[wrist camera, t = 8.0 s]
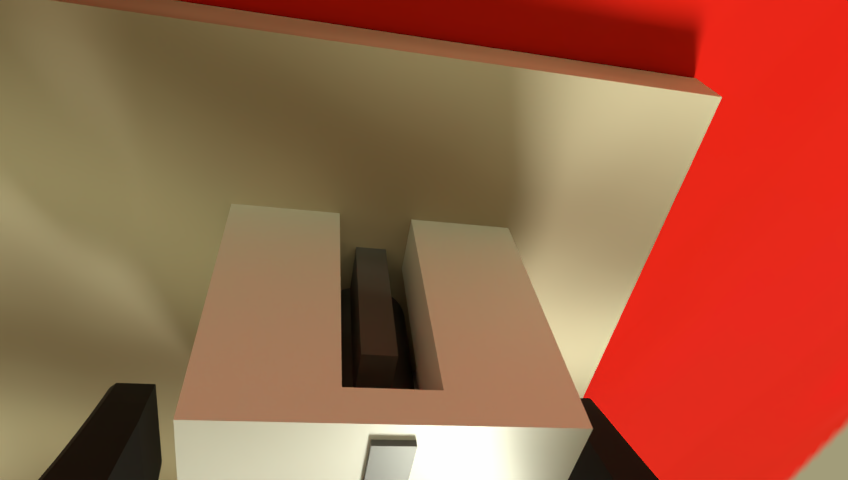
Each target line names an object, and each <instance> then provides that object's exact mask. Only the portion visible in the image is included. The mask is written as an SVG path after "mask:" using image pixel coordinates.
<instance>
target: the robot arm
mask: <svg viewBox="0 0 848 480" xmlns="http://www.w3.org/2000/svg"><path fill="white" fill-rule="evenodd" d="M580 399H581V402H582V404H583V406H584V409H585V411H586V413H587V416H588V418H589V420H590V423H591V425H592V428H593V430H592V432H591V434H590V436H589V438H588V440H587V442H586V444H585V446H584V448H583V450H582V452H581V454H580V456H579V458H578V460H577V462H576V464H575V466H574V468H573V470H572V472H571V474H570V476H569V478H568V480H659V479H658V478H657V477H656V476H655V475H654V474H653V472H652V471H651V470H650V469H649V468H648V467H647V465H646V464H645V463H644V462H643V461H642V460H641V458H640V457H639V456H638V455H637V454H636V452H635V451H634V450H633V449H632V448H631V447H630V445H629V444H628V443H627V442H626V441H625V439H624V438H623V437H622V436H621V435H620V433H619V432H618V431H617V430H616V429H615V427H614V426H613V425H612V424H611V423H610V421H609V420H608V419H607V418H606V417H605V415H604V414H603V413H602V412H601V411H600V410H599V408H598V407H597V406H596V405H595V404H594V403H593V401H592V400H591V399H589V398H580ZM161 465H162V456H161V443H160V431H159V419H158V407H157V395H156V384H139V383H115V384H114V385H112V386H111V387H110V388H109V389H108V390H107V392H106V393H105V395H104V396H103V398H102V399H101V400H100V402H99V403H98V405H97V406H96V407H95V409H94V410H93V411H92V413H91V414H90V415H89V417H88V418H87V419H86V421H85V422H84V423H83V425H82V426H81V427H80V429H79V430H78V431H77V433H76V434H75V435H74V436H73V438H72V439H71V440H70V441H69V443H68V444H67V445H66V446H65V448H64V449H63V450H62V451H61V453H60V454H59V455H58V457H57V458H56V459H55V460H54V461H53V463H52V464H51V465H50V466H49V467H48V468H47V470H46V471H45V472H44V473H43V474H42V476H41V477H40V478H39V479H38V480H158V479H159V475H160V470H161Z"/></svg>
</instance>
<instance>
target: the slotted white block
mask: <svg viewBox="0 0 848 480" xmlns="http://www.w3.org/2000/svg"><path fill="white" fill-rule="evenodd" d="M402 273H403V280H404V286H405V293H406V300H407V307H408V313H409V320H410V327H411V334H412V340H413V347H414V354H415V360H416V372H412V375H413V382H414V389H384V388H353V387H342V361H341V277H340V213H332V212H321V211H310V210H298V209H287V208H276V207H264V206H253V205H241V204H231V207H230V211H229V214H228V218H227V222H226V226H225V229H224V233H223V237H222V240H221V244H220V248H219V252H218V255H217V259H216V263H215V267H214V270H213V274H212V278H211V281H210V285H209V289H208V293H207V296H206V300H205V304H204V307H203V311H202V315H201V319H200V322H199V326H198V330H197V334H196V337H195V341H194V345H193V348H192V352H191V356H190V360H189V363H188V367H187V371H186V374H185V378H184V382H183V386H182V389H181V393H180V397H179V401H178V404H177V408H176V412H175V415H174V419H173V423H174V438H175V453H176V467H177V480H568V478H569V476H570V474H571V472H572V470H573V468H574V466H575V464H576V462H577V460H578V458H579V456H580V454H581V452H582V450H583V448H584V446H585V444H586V442H587V440H588V438H589V436H590V434H591V432H592V430H593V428H592V425H591V423H590V420H589V418H588V416H587V413H586V411H585V409H584V406H583V404H582V402H581V399H580V397H579V394H578V392H577V390H576V387H575V385H574V383H573V380H572V378H571V375H570V373H569V371H568V368H567V366H566V364H565V361H564V359H563V357H562V354H561V352H560V349H559V347H558V345H557V342H556V340H555V338H554V335H553V333H552V330H551V328H550V326H549V323H548V321H547V319H546V316H545V314H544V312H543V309H542V307H541V304H540V302H539V300H538V297H537V295H536V293H535V290H534V288H533V285H532V283H531V281H530V278H529V276H528V274H527V271H526V269H525V267H524V264H523V262H522V259H521V257H520V255H519V252H518V250H517V248H516V245H515V243H514V240H513V238H512V236H511V233H510V231H509V229H508V228H503V227H491V226H480V225H469V224H457V223H446V222H435V221H423V220H412V219H411V224H410V229H409V234H408V239H407V244H406V249H405V255H404V260H403V265H402Z"/></svg>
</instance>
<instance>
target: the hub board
mask: <svg viewBox="0 0 848 480" xmlns="http://www.w3.org/2000/svg"><path fill="white" fill-rule="evenodd" d="M721 98H722V97H721V96H720V95H718V94H717V93H716V92H714V91H713V90H711V89H710V88H709V87H707V86H706V85H704V84H703V83H702V82H700V81H699V80H698V79H696V78H690V77H683V76H677V75H670V74H663V73H657V72H650V71H643V70H637V69H630V68H623V67H617V66H610V65H603V64H597V63H590V62H583V61H577V60H570V59H563V58H557V57H550V56H543V55H537V54H530V53H523V52H517V51H510V50H503V49H496V48H490V47H483V46H476V45H470V44H463V43H456V42H450V41H443V40H436V39H430V38H423V37H416V36H410V35H403V34H396V33H390V32H383V31H376V30H370V29H363V28H356V27H350V26H343V25H336V24H330V23H323V22H316V21H310V20H303V19H296V18H290V17H283V16H276V15H270V14H263V13H256V12H250V11H243V10H236V9H230V8H223V7H216V6H209V5H203V4H196V3H189V2H183V1H176V0H0V480H38V479H39V478H40V477H41V476H42V474H43V473H44V472H45V471H46V470H47V468H48V467H49V466H50V465H51V464H52V463H53V461H54V460H55V459H56V458H57V457H58V455H59V454H60V453H61V451H62V450H63V449H64V448H65V446H66V445H67V444H68V443H69V441H70V440H71V439H72V438H73V436H74V435H75V434H76V433H77V431H78V430H79V429H80V427H81V426H82V425H83V423H84V422H85V421H86V419H87V418H88V417H89V415H90V414H91V413H92V411H93V410H94V409H95V407H96V406H97V405H98V403H99V402H100V400H101V399H102V398H103V396H104V395H105V393H106V392H107V390H108V389H109V388H110V387H111V386H112V385H114V384H115V383H139V384H156V395H157V407H158V419H159V431H160V443H161V456H162V465H161V470H160V475H159V479H158V480H177V467H176V453H175V438H174V423H173V419H174V415H175V412H176V408H177V404H178V401H179V397H180V393H181V389H182V386H183V382H184V378H185V374H186V371H187V367H188V363H189V360H190V356H191V352H192V348H193V345H194V341H195V337H196V334H197V330H198V326H199V322H200V319H201V315H202V311H203V307H204V304H205V300H206V296H207V293H208V289H209V285H210V281H211V278H212V274H213V270H214V267H215V263H216V259H217V255H218V252H219V248H220V244H221V240H222V237H223V233H224V229H225V226H226V222H227V218H228V214H229V211H230V207H231V204H241V205H253V206H264V207H276V208H287V209H298V210H310V211H321V212H332V213H340V277H341V361H342V387H353V388H384V389H414V382H413V375H412V372H416V360H415V354H414V347H413V340H412V334H411V327H410V320H409V313H408V307H407V300H406V293H405V286H404V280H403V273H402V265H403V260H404V255H405V249H406V244H407V239H408V234H409V229H410V224H411V219H412V220H423V221H435V222H446V223H457V224H469V225H480V226H491V227H503V228H508V229H509V231H510V233H511V236H512V238H513V240H514V243H515V245H516V248H517V250H518V252H519V255H520V257H521V259H522V262H523V264H524V267H525V269H526V271H527V274H528V276H529V278H530V281H531V283H532V285H533V288H534V290H535V293H536V295H537V297H538V300H539V302H540V304H541V307H542V309H543V312H544V314H545V316H546V319H547V321H548V323H549V326H550V328H551V330H552V333H553V335H554V338H555V340H556V342H557V345H558V347H559V349H560V352H561V354H562V357H563V359H564V361H565V364H566V366H567V368H568V371H569V373H570V375H571V378H572V380H573V383H574V385H575V387H576V390H577V392H578V394H579V397H580V398H583V396H584V394H585V392H586V390H587V387H588V385H589V383H590V381H591V379H592V377H593V375H594V372H595V370H596V368H597V366H598V364H599V362H600V359H601V357H602V355H603V353H604V351H605V349H606V346H607V344H608V342H609V340H610V338H611V336H612V334H613V331H614V329H615V327H616V325H617V323H618V321H619V318H620V316H621V314H622V312H623V310H624V308H625V305H626V303H627V301H628V299H629V297H630V295H631V293H632V290H633V288H634V286H635V284H636V282H637V280H638V277H639V275H640V273H641V271H642V269H643V267H644V264H645V262H646V260H647V258H648V256H649V254H650V252H651V249H652V247H653V245H654V243H655V241H656V239H657V236H658V234H659V232H660V230H661V228H662V226H663V223H664V221H665V219H666V217H667V215H668V213H669V211H670V208H671V206H672V204H673V202H674V200H675V198H676V195H677V193H678V191H679V189H680V187H681V185H682V182H683V180H684V178H685V176H686V174H687V172H688V169H689V167H690V165H691V163H692V161H693V159H694V157H695V154H696V152H697V150H698V148H699V146H700V144H701V141H702V139H703V137H704V135H705V133H706V131H707V128H708V126H709V124H710V122H711V120H712V118H713V116H714V113H715V111H716V109H717V107H718V105H719V103H720V100H721Z"/></svg>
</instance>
